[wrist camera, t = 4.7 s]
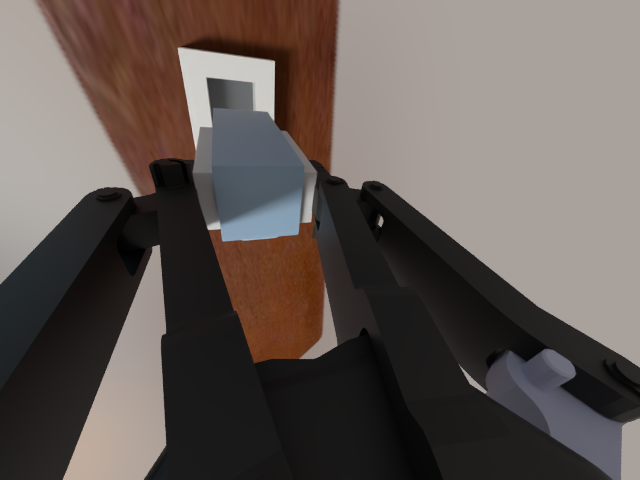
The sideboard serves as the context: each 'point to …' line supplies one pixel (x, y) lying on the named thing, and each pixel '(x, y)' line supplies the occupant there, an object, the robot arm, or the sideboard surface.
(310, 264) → the sideboard surface
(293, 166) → the plug
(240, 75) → the panel
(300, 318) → the sideboard surface
